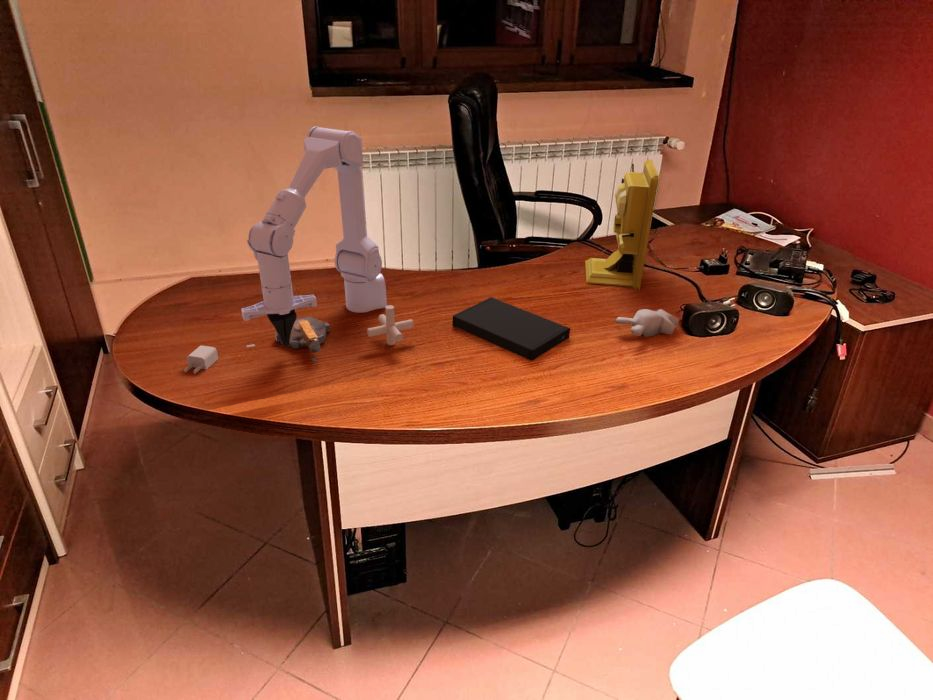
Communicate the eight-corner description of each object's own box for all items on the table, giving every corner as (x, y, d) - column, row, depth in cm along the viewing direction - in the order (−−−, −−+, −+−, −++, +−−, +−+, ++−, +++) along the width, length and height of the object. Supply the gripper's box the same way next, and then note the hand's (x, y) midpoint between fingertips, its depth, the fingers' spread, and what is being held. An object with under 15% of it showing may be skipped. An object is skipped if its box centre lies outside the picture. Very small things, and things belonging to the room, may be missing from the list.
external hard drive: (491, 307, 161) (491, 296, 159) (569, 339, 148) (570, 327, 146) (452, 327, 151) (452, 315, 150) (531, 362, 138) (532, 350, 137)
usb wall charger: (219, 364, 134) (216, 347, 132) (200, 381, 129) (196, 364, 127) (202, 361, 135) (198, 344, 133) (182, 378, 129) (178, 361, 127)
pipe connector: (378, 363, 136) (375, 321, 131) (361, 342, 143) (359, 302, 138) (421, 353, 140) (421, 312, 135) (403, 333, 147) (402, 293, 142)
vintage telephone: (584, 250, 195) (596, 148, 179) (631, 253, 193) (648, 151, 178) (586, 294, 168) (601, 179, 153) (641, 298, 166) (661, 182, 151)
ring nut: (271, 330, 144) (268, 312, 142) (322, 320, 149) (320, 303, 147) (289, 366, 131) (287, 347, 129) (344, 354, 136) (343, 335, 134)
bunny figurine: (689, 318, 149) (641, 325, 141) (683, 338, 151) (636, 345, 144) (660, 302, 156) (613, 307, 148) (655, 321, 158) (608, 327, 151)
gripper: (243, 298, 120) (253, 360, 127) (318, 283, 127) (325, 343, 134) (235, 284, 126) (245, 344, 133) (308, 270, 132) (314, 329, 139)
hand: (284, 343), depth 133 cm, fingers closed
